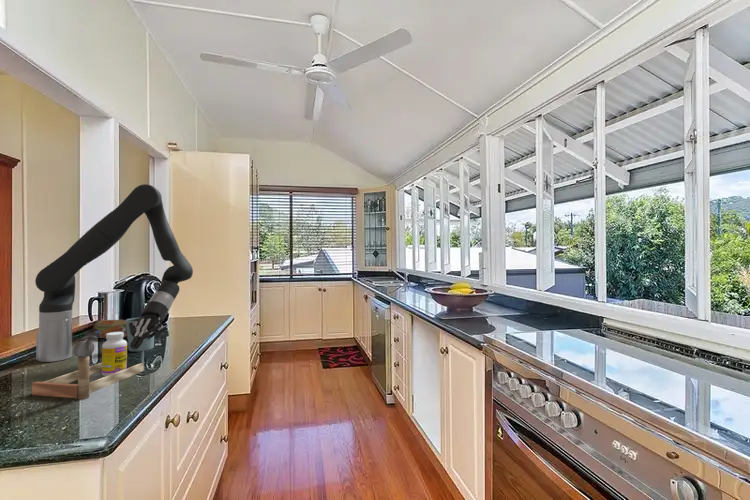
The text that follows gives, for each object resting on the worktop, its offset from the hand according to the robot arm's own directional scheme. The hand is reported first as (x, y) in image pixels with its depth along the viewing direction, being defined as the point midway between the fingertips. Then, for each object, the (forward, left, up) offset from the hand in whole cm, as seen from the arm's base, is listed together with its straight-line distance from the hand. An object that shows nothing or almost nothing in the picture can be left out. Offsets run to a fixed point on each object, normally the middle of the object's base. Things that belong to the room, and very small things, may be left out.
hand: (133, 348), depth 130 cm
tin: (-41, +36, -7) cm, 55 cm away
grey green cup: (-15, +22, -7) cm, 27 cm away
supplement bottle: (0, -7, -6) cm, 10 cm away
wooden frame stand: (+2, -16, -6) cm, 17 cm away
